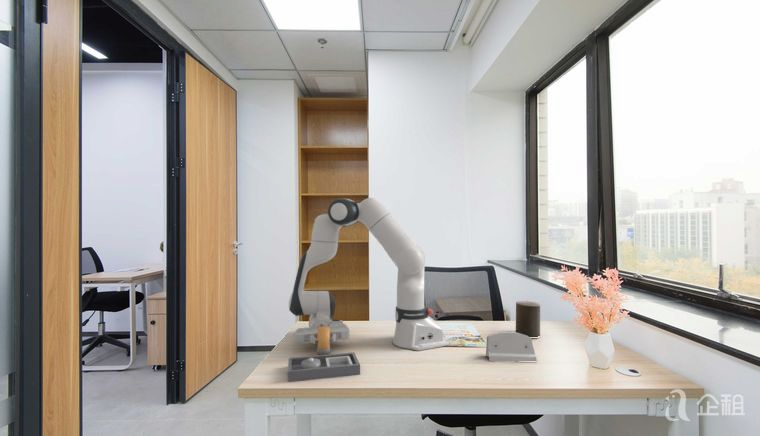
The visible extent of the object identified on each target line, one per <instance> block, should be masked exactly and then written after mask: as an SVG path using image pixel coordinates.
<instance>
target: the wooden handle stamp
mask: <svg viewBox="0 0 760 436" xmlns="http://www.w3.org/2000/svg"><path fill="white" fill-rule="evenodd" d="M316 345H317V347H316V356H317V355H329V354H331V343H330V327H329V326H320V327H318V344H316Z"/></svg>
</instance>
